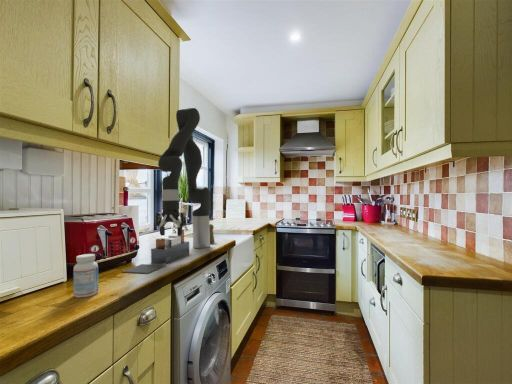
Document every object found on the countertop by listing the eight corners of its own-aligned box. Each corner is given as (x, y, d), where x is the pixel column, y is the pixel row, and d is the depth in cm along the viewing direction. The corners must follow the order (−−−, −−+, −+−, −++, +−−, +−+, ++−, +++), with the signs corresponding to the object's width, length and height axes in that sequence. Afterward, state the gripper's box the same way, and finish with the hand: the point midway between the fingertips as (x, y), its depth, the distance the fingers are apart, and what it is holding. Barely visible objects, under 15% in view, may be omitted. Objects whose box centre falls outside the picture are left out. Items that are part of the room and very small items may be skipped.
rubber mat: (141, 265, 111) (141, 264, 111) (165, 266, 109) (165, 265, 109) (122, 272, 101) (122, 271, 101) (147, 273, 98) (147, 272, 98)
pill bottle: (84, 290, 81) (83, 253, 82) (103, 291, 81) (102, 253, 81) (68, 298, 75) (67, 257, 75) (88, 298, 75) (88, 257, 75)
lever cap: (171, 243, 128) (171, 234, 128) (180, 243, 126) (180, 235, 126) (161, 246, 120) (161, 237, 120) (171, 246, 119) (171, 237, 119)
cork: (212, 243, 161) (212, 224, 161) (202, 243, 162) (202, 224, 162) (216, 241, 167) (215, 223, 167) (206, 241, 168) (206, 223, 168)
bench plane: (176, 253, 134) (176, 229, 134) (189, 253, 132) (188, 229, 132) (150, 263, 114) (150, 234, 114) (165, 264, 112) (165, 235, 112)
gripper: (188, 199, 125) (189, 234, 125) (161, 200, 129) (162, 234, 128) (180, 199, 118) (180, 236, 118) (151, 200, 122) (152, 236, 121)
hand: (170, 235), depth 123 cm, fingers open, 8 cm apart
